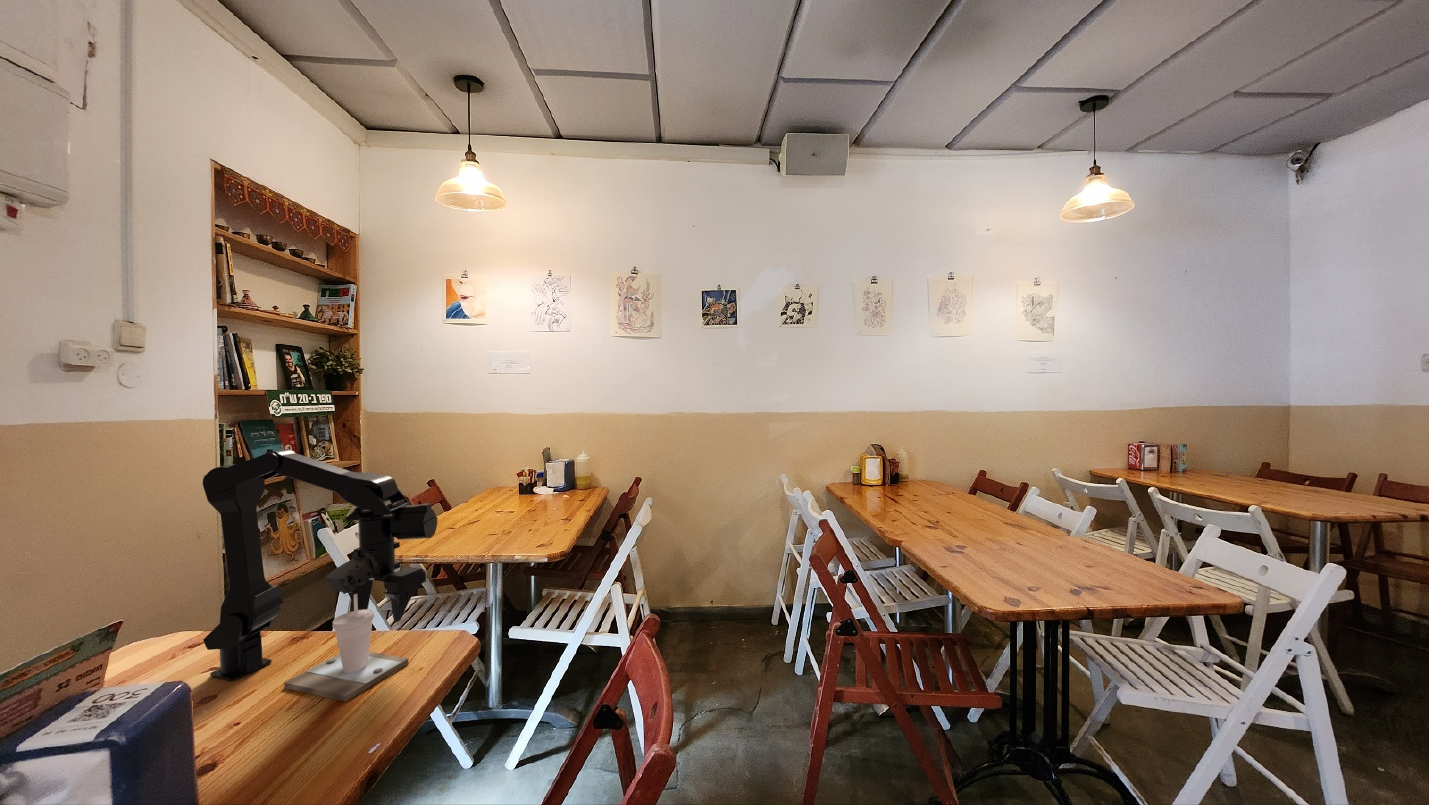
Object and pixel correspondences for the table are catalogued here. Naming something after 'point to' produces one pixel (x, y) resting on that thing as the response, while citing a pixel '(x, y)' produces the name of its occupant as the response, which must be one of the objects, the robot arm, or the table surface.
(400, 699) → the table surface
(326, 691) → the gray and brown board
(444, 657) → the table surface
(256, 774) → the table surface
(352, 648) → the smoothie
